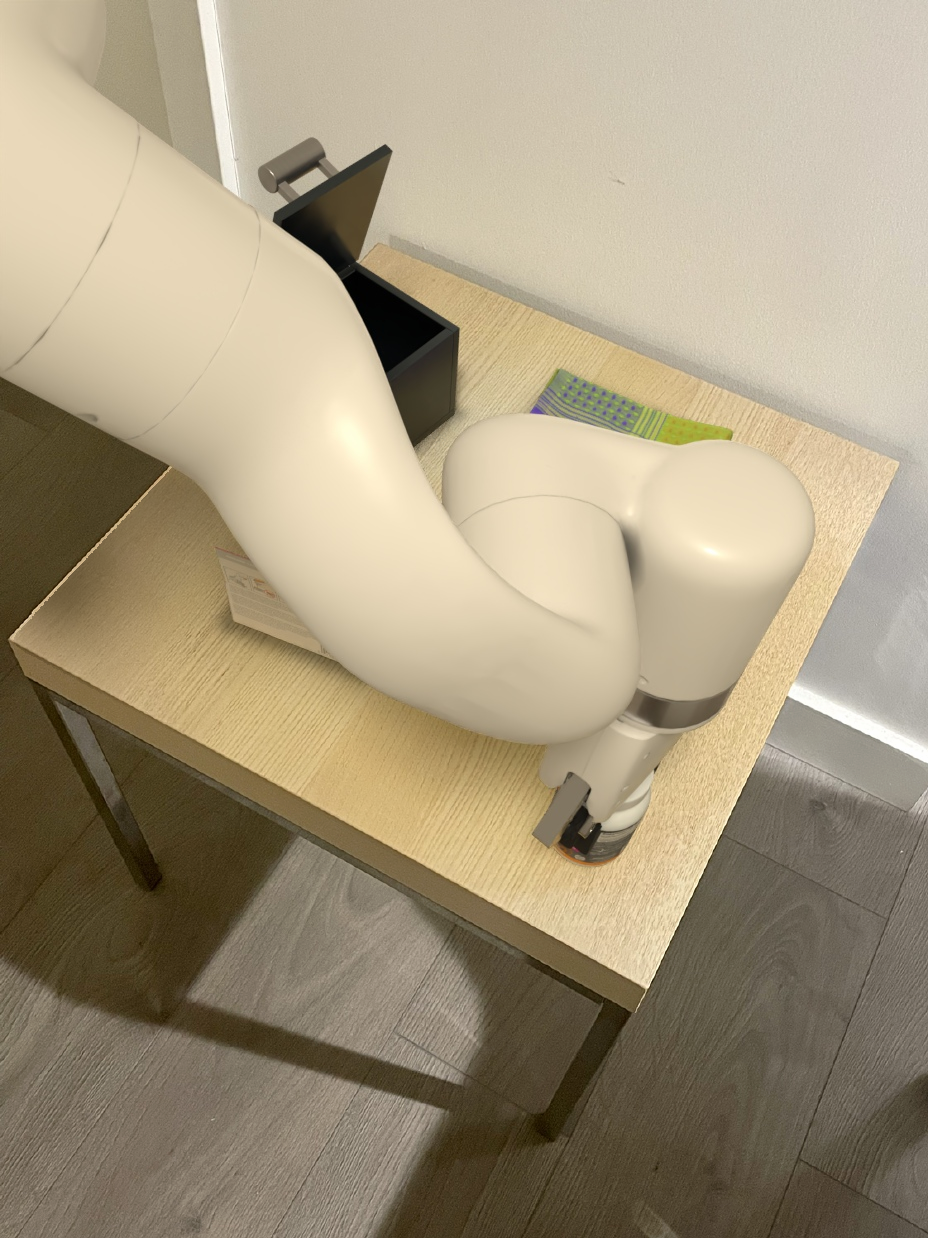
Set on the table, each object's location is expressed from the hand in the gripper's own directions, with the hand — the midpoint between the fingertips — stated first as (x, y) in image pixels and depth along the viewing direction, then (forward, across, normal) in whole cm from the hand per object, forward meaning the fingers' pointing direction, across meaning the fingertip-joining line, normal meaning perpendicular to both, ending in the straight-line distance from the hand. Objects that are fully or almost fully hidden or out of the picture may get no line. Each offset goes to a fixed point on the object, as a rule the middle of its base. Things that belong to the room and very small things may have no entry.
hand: (600, 799), depth 68 cm
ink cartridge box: (+7, +2, -25) cm, 26 cm away
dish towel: (+7, -24, -17) cm, 30 cm away
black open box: (+7, -18, -38) cm, 43 cm away
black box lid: (-9, -18, -42) cm, 46 cm away
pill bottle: (+5, 0, 0) cm, 5 cm away
